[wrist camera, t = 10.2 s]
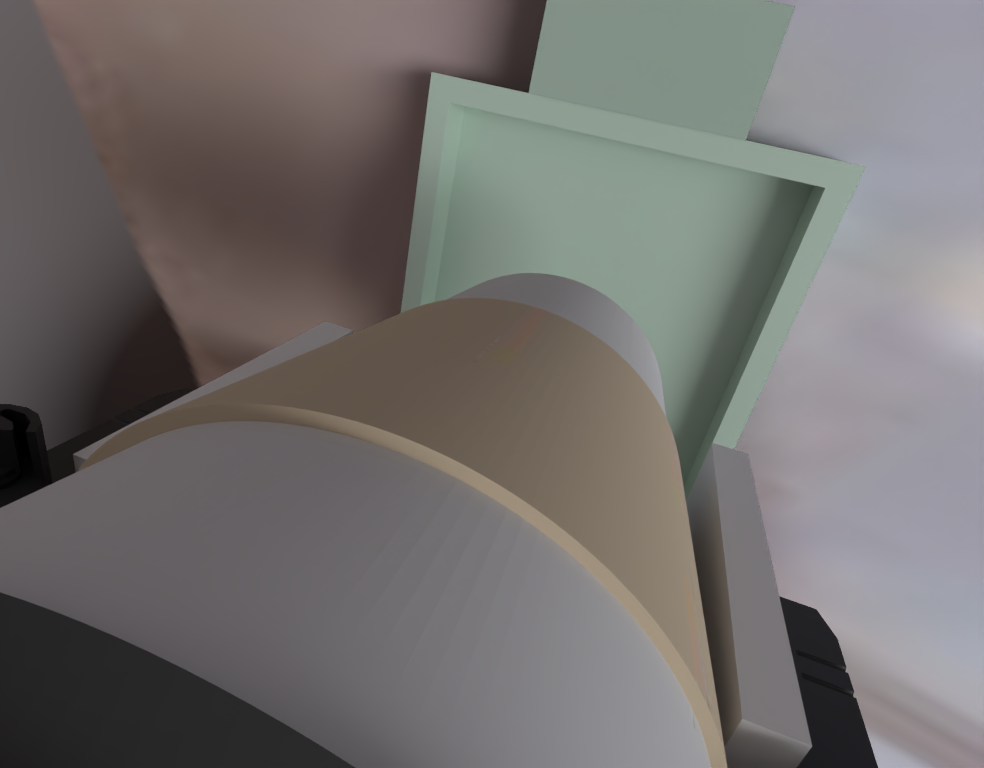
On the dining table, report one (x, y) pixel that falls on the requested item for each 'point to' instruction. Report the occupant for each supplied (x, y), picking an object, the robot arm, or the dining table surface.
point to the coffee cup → (376, 561)
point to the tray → (638, 193)
